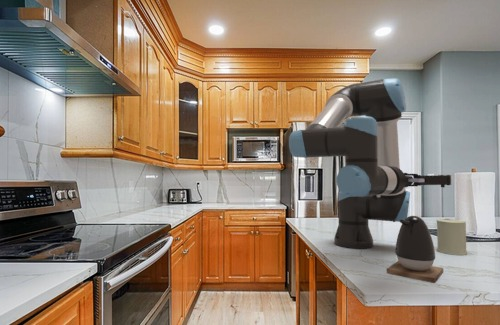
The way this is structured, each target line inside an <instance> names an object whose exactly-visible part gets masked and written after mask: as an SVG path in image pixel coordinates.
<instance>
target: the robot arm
mask: <svg viewBox="0 0 500 325" xmlns="http://www.w3.org/2000/svg"><path fill="white" fill-rule="evenodd" d="M406 104H407V103H406V97H405V93H404V88H403V84H402V82H401V80H400V79H399V78H397V77H396V78H395V77H394V78H382V79H375V80H370V81H365V82H357V83H356V82H355V83H353V84H349V85H346V86H344V87H342V88H341V89H339V90H337V91H336V92H334V93H333V94H332V95H331V96H329V98H327V100H326V101H325V105H324V108H323V109H322V110H321V111H320V112H319V114H317V116H316V117H314V119H313V120H312V121H311V122H310V124H309V125H307V127H306V128H305V129H299V130H293V131H292V132H291V133H290V134H289V138H288V148H289V152H290V154H291V155H292V156H293V157H294V158H303V159H304V158H305V159H307V158H329V157H344V158H345V160H344V162H345V164H344V166H343V167H341V168H340V169H339V170H338V173H337V176H336V186H337V188H338V190H339V191H338V199H337V208H338V226H337V228H336V232H335V235H334V237H333V238H334V239H333V240H334V242H333V243H334V244H335V245H337V246H340V247H342V248H343V247H344V248H350V249H369V248H370V249H371V248H373V247H374V238H373V236H372V233H371V230H370V227H369V221H370V220H371V221H384V222H393V223H397V222H398V223H400V220H401V219H403V220H405V219H406V218H407V217H409V216H408V215H409V214H408V213H409V208H410V198H411V197H410V196H411V192H410V191H407V190H406V188H408V187H419V186H420V187H421V186H440V187H441V188H445V187H446V186H452V185H453V179H452V178H453V176H452V174H437V175H421V174H417V173H407V172H403V170H402V169H401V166H400V150H399V149H400V148H399V134H398V133H399V131H398V130H399V129H398V121H399V120H400V119H401V118H402V115H403V114H402V113H405V112H406V110H407V105H406ZM343 123H344V124H343ZM342 124H343V126H341V125H342Z"/></svg>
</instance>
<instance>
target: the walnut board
mask: <svg viewBox="0 0 500 325" xmlns="http://www.w3.org/2000/svg"><path fill="white" fill-rule="evenodd" d="M386 273H387V274H391V275H395V276H400V277H404V278H410V279H415V280H419V281H424V282H429V283H433V284H435V283H436V282H437V281H438V280H439V278H440V277H441V276H442V275H443V273H444V267H440V266H435V265H432V266H431V267H430V268H429V269H427V270H425V271H414V270H410V269H407V268H405V267H404V266H402V265H401V264H400V262H399V261H398V260H397V261H395V263H393V264H391V265H390V266H389V267H387V268H386Z"/></svg>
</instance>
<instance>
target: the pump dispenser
mask: <svg viewBox="0 0 500 325" xmlns="http://www.w3.org/2000/svg"><path fill="white" fill-rule="evenodd" d="M399 223H400V224H401V226H400V228H399V230H398V234H397V237H396V242H395V252H394V253H395V255H396V258H397V261H399V262H400V264H401V265H402V266H404V267H405V268H407V269H410V270H414V271H425V270H427V269H429V268H430V267H431V266H434V263H435V262H434V261H435V259H436V252H435V245H434V240H433V238H432V235H431V231H430V230H429V228H428V226H427V224H426V222H425V221H424V220H423V218H421V217H420V216H417V215H410V216H407V218H406V219H405V220H403V219H401V220H400V222H399Z"/></svg>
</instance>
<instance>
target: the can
mask: <svg viewBox="0 0 500 325" xmlns="http://www.w3.org/2000/svg"><path fill="white" fill-rule="evenodd" d="M436 230H437V231H436V234H437V235H436V236H437V237H436V238H437V249H436V251H437V252H439V253H442V254H445V255H454V256H464V255H467V254H468V251H467V233H466V232H467V221H466V220H459V219H452V218H438V219H436Z"/></svg>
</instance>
